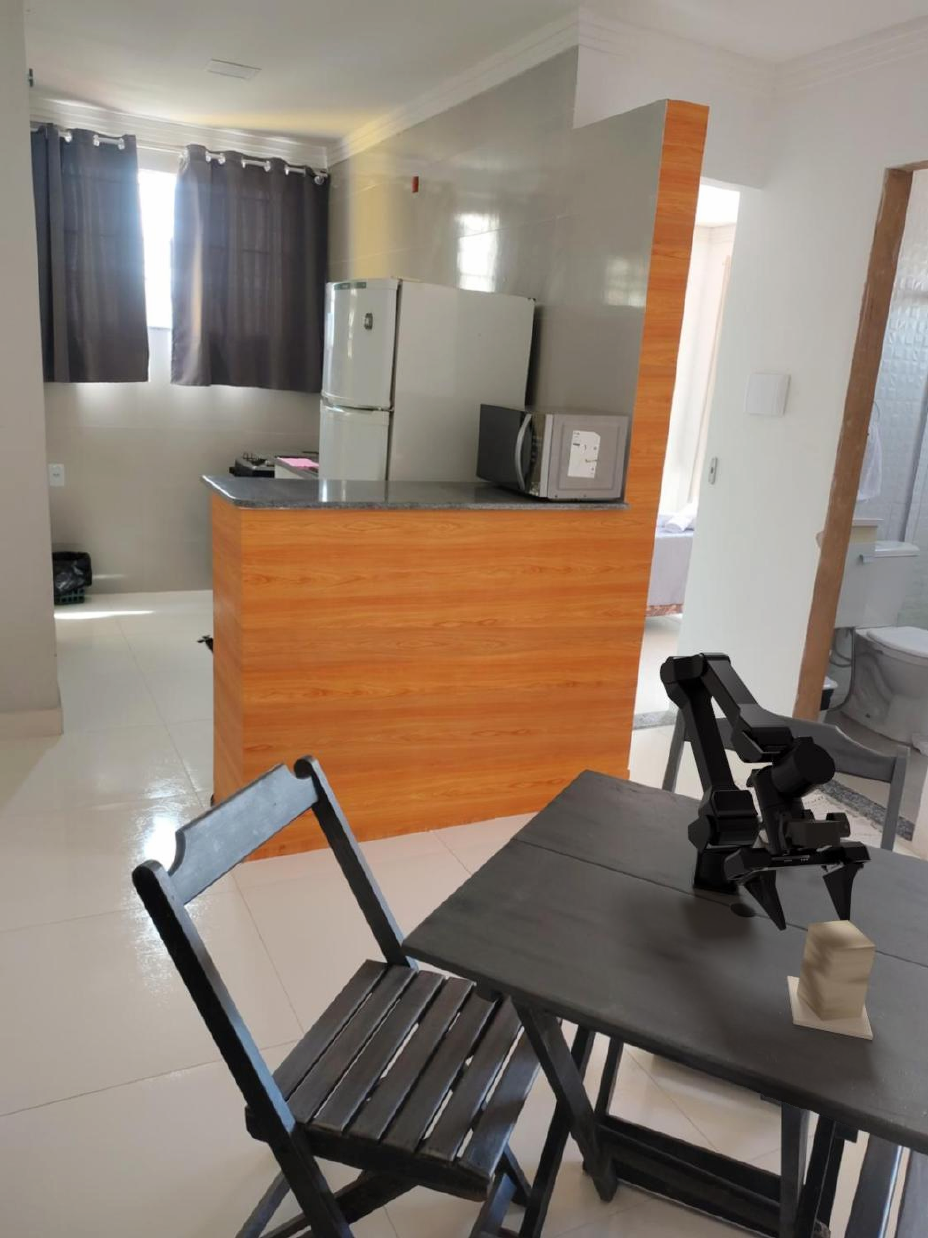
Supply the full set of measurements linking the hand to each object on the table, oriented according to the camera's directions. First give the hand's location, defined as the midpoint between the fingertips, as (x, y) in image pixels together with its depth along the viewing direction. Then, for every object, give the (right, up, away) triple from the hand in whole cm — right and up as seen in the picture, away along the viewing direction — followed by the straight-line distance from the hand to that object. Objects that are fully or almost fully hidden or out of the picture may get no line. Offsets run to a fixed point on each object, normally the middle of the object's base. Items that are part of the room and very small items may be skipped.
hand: (815, 927), depth 120 cm
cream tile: (+1, -9, -3) cm, 10 cm away
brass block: (+1, -9, -3) cm, 9 cm away
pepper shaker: (+8, +2, +41) cm, 41 cm away
